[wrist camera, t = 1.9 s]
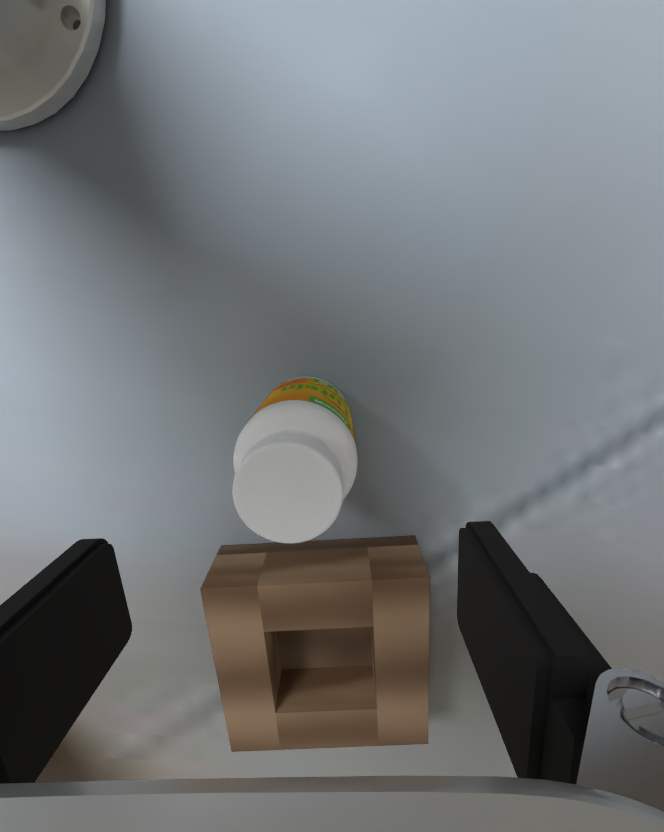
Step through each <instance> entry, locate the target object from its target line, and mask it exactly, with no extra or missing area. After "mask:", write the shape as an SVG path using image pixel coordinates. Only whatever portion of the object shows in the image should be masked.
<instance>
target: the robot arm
mask: <svg viewBox="0 0 664 832" xmlns="http://www.w3.org/2000/svg"><path fill="white" fill-rule="evenodd" d="M105 11H106V0H0V131H1V130H15V129H19V128H23V127H27V126H31V125H34V124H37V123H38V122H40V121H42V120H44V119H46V118H48V117H49V116H51V115H53V114H55V113H56V112H57V111H58V110H59V109H61V108H62V107H63V106H64V105H65V104H66V103H67V102H68V101H69V100H70V99H71V98H73V97H74V95H75V94H76V92H77V91H78V89H79V88H80V86H81V85H82V83H83V82H84V81H85V79H86V78H87V76H88V74H89V72H90V69H91V67H92V65H93V62H94V60H95V57H96V55H97V53H98V50H99V46H100V41H101V37H102V32H103V27H104V23H105ZM457 618H458V624H459V628H460V631H461V633H462V636H463V638H464V641H465V644H466V646H467V649H468V651H469V654H470V656H471V659H472V662H473V664H474V667H475V669H476V672H477V674H478V677H479V680H480V682H481V685H482V687H483V690H484V692H485V695H486V697H487V700H488V703H489V705H490V708H491V710H492V713H493V715H494V718H495V721H496V723H497V726H498V728H499V731H500V733H501V736H502V739H503V741H504V744H505V746H506V749H507V751H508V754H509V756H510V759H511V762H512V764H513V767H514V769H515V772H516V774H517V777H518V778H510V777H488V776H353V777H278V778H221V779H170V780H122V781H80V782H43V783H34V782H35V781H36V779H37V778H38V776H39V775H40V773H41V772H42V770H43V769H44V767H45V766H46V764H47V763H48V761H49V760H50V758H51V757H52V755H53V754H54V752H55V751H56V749H57V748H58V746H59V745H60V743H61V742H62V740H63V739H64V737H65V736H66V734H67V732H68V731H69V729H70V728H71V726H72V725H73V723H74V722H75V720H76V719H77V717H78V716H79V714H80V713H81V711H82V710H83V708H84V707H85V705H86V704H87V702H88V701H89V699H90V698H91V696H92V695H93V693H94V692H95V690H96V689H97V687H98V686H99V684H100V683H101V681H102V680H103V678H104V677H105V675H106V674H107V672H108V671H109V669H110V668H111V666H112V665H113V663H114V662H115V660H116V659H117V657H118V656H119V654H120V653H121V651H122V650H123V648H124V647H125V645H126V644H127V642H128V640H129V638H130V636H131V632H132V623H131V619H130V615H129V611H128V607H127V603H126V598H125V594H124V590H123V586H122V582H121V577H120V573H119V569H118V565H117V561H116V557H115V552H114V549H113V546H112V545H111V544H108V542H107V541H106V540H105V539H102V538H101V539H82V540H79V541H77V542H76V543H75V544H73V545H72V546H71V547H70V548H69V549H67V550H66V551H65V552H64V553H63V554H61V555H60V556H59V557H58V558H57V559H55V560H54V561H53V562H52V563H51V564H49V565H48V566H47V567H46V568H45V569H43V570H42V571H41V572H40V573H39V574H37V575H36V576H35V577H34V578H33V579H31V580H30V581H29V582H28V583H27V584H25V585H24V586H23V587H22V588H21V589H19V590H18V591H17V592H16V593H15V594H13V595H12V596H11V597H10V598H9V599H7V600H6V601H5V602H4V603H3V604H1V605H0V832H664V682H663V681H661V680H659V679H657V678H655V677H654V676H651V675H648V674H645V673H642V672H640V671H637V670H631V669H624V668H617V669H612V668H611V667H610V666H609V664H608V663H607V662H606V661H605V659H604V658H603V657H602V655H601V654H600V653H599V652H598V650H597V649H596V648H595V647H594V645H593V644H592V643H591V641H590V640H589V639H588V638H587V636H586V635H585V634H584V633H583V631H582V630H581V629H580V627H579V626H578V625H577V624H576V622H575V621H574V620H573V618H572V617H571V616H570V615H569V613H568V612H567V611H566V610H565V608H564V607H563V606H562V604H561V603H560V602H559V601H558V599H557V598H556V597H555V595H554V594H553V593H552V592H551V590H550V589H549V588H548V587H547V585H546V584H545V583H544V581H543V580H542V579H541V578H540V577H539V576H538V575H537V574H535V573H530V572H529V571H528V570H527V569H526V567H525V566H524V565H523V563H522V562H521V561H520V559H519V558H518V557H517V555H516V554H515V553H514V551H513V550H512V549H511V547H510V546H509V545H508V543H507V542H506V541H505V539H504V538H503V537H502V535H501V534H500V533H499V531H498V530H497V529H496V528H495V526H494V525H493V524H492V523H491V522H490V521H481V522H468V523H467V524H466V528H460V530H459V556H458V596H457Z"/></svg>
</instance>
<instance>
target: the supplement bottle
mask: <svg viewBox="0 0 664 832" xmlns="http://www.w3.org/2000/svg"><path fill="white" fill-rule="evenodd" d="M357 464H358V459H357V449H356V443H355V437H354V430H353V423H352V417H351V412H350V408H349V406H348V403H347V401H346V399H345V398H344V396H343V395H342V394H341V392H340V391H339V390H338V389H337V388H336V387H334V386H333V385H332V384H330V383H328V382H327V381H324V380H322V379H319V378H315V377H296V378H292V379H289V380H287V381H285V382H283V383H281V384H280V385H279V386H277V387H276V388H275V389H274V390H273V391H272V392H271V393H270V394H269V396H268V397H267V398H266V400H265V401H264V402H263V403H262V405H261V406H260V407H259V408H258V410H257V411H256V412H255V413H254V414H253V416H252V417H251V418H250V419H249V421H248V422H247V423H246V425H245V426H244V428H243V429H242V431H241V432H240V434H239V436H238V439H237V441H236V444H235V449H234V454H233V465H234V471H235V477H234V481H233V488H232V495H233V501H234V505H235V508H236V510H237V512H238V514H239V516H240V518H241V519H242V521H243V522H244V523H245V524H246V525H247V526H248V527H249V528H250V529H251V530H252V531H253V532H255V533H256V534H258V535H259V536H261V537H263V538H265V539H268V540H271V541H274V542H279V543H290V544H292V543H300V542H305V541H308V540H311V539H314V538H315V537H317V536H319V535H321V534H322V533H324V532H325V531H326V530H327V529H328V528H329V527H330V526H331V525H332V524H333V523H334V521H335V520H336V518H337V516H338V514H339V512H340V510H341V507H342V503H343V500H344V498H345V497H346V496H347V494H348V493H349V491H350V490H351V488H352V486H353V483H354V480H355V477H356V473H357Z"/></svg>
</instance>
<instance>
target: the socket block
mask: <svg viewBox="0 0 664 832" xmlns="http://www.w3.org/2000/svg"><path fill="white" fill-rule="evenodd" d="M201 595H202V600H203V605H204V610H205V615H206V620H207V626H208V631H209V636H210V641H211V646H212V652H213V657H214V662H215V667H216V672H217V678H218V683H219V688H220V693H221V698H222V703H223V709H224V714H225V719H226V724H227V729H228V735H229V740H230V745H231V750H232V752H235V751H260V750H285V749H309V748H334V747H359V746H383V745H408V744H428V699H429V604H430V576H429V574H428V571H427V568H426V565H425V563H424V560H423V557H422V554H421V552H420V549H419V546H418V543H417V541H416V538H415V536H397V537H378V538H359V539H340V540H321V541H305V542H300V543H292V544H290V543H264V544H245V545H226V546H221V547H220V549H219V551H218V553H217V555H216V557H215V560H214V562H213V564H212V566H211V568H210V570H209V572H208V574H207V576H206V578H205V580H204V582H203V584H202V587H201Z"/></svg>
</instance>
